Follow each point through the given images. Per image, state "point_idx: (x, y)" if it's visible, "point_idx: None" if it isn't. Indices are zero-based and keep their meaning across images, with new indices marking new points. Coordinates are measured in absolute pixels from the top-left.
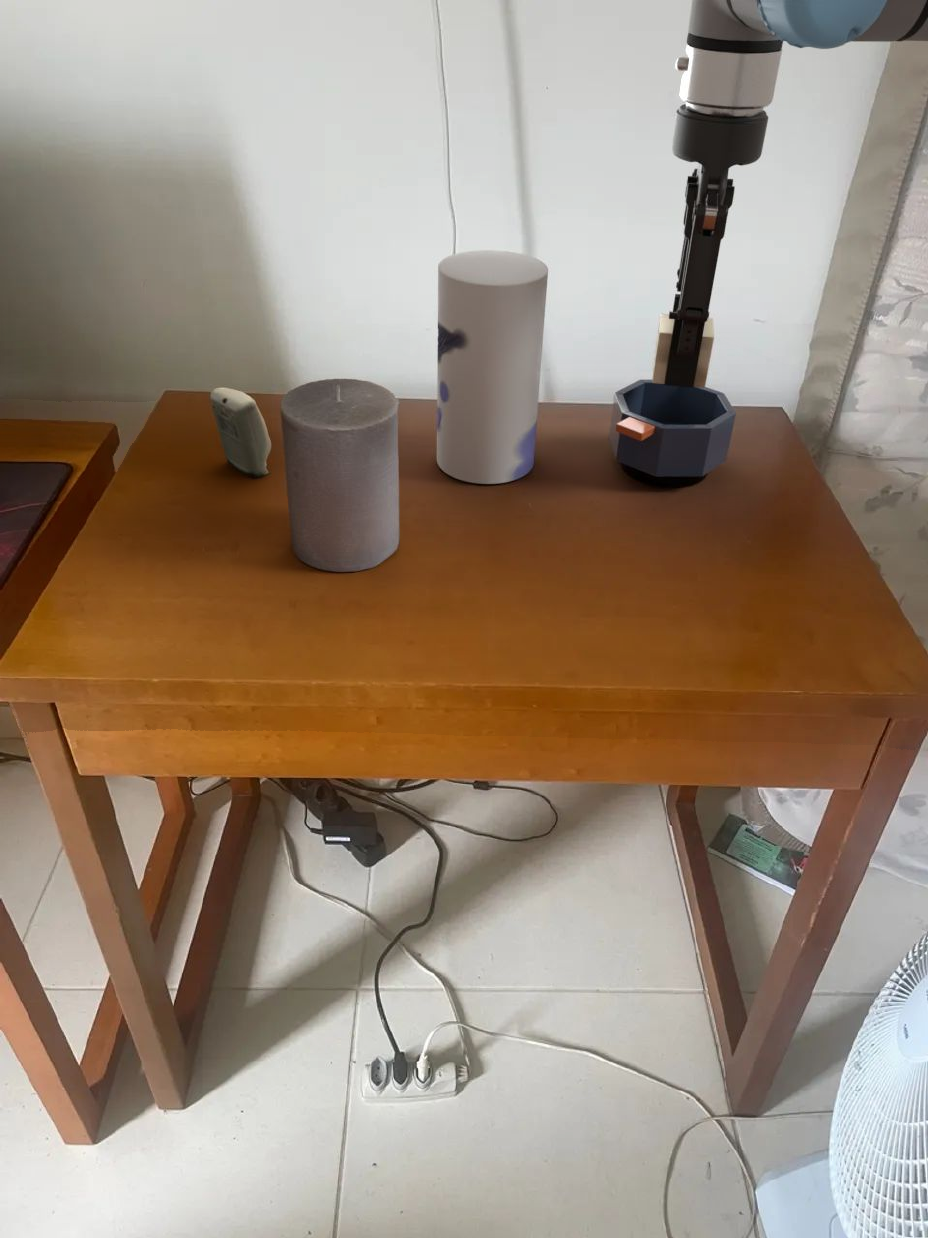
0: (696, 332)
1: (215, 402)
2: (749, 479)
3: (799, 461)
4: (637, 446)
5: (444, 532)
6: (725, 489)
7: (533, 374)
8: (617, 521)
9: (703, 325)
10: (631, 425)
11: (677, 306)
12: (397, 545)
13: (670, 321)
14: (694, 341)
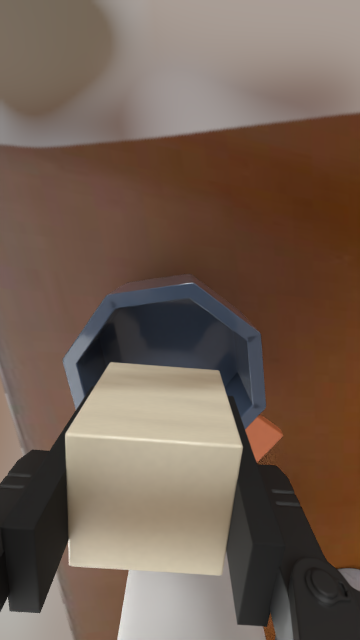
0: (313, 536)
1: None
2: (189, 234)
3: (123, 147)
4: None
5: (325, 538)
6: (220, 271)
7: (235, 638)
8: (303, 398)
9: (275, 525)
10: (257, 449)
11: (55, 560)
12: (356, 571)
13: (130, 548)
14: (300, 508)
